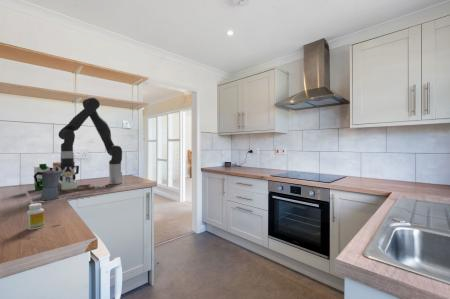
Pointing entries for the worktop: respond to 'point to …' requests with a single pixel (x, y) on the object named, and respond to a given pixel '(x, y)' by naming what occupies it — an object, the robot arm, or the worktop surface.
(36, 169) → the milk carton
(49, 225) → the worktop surface
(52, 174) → the moka pot
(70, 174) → the cracker box
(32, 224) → the supplement bottle
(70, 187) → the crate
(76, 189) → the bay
